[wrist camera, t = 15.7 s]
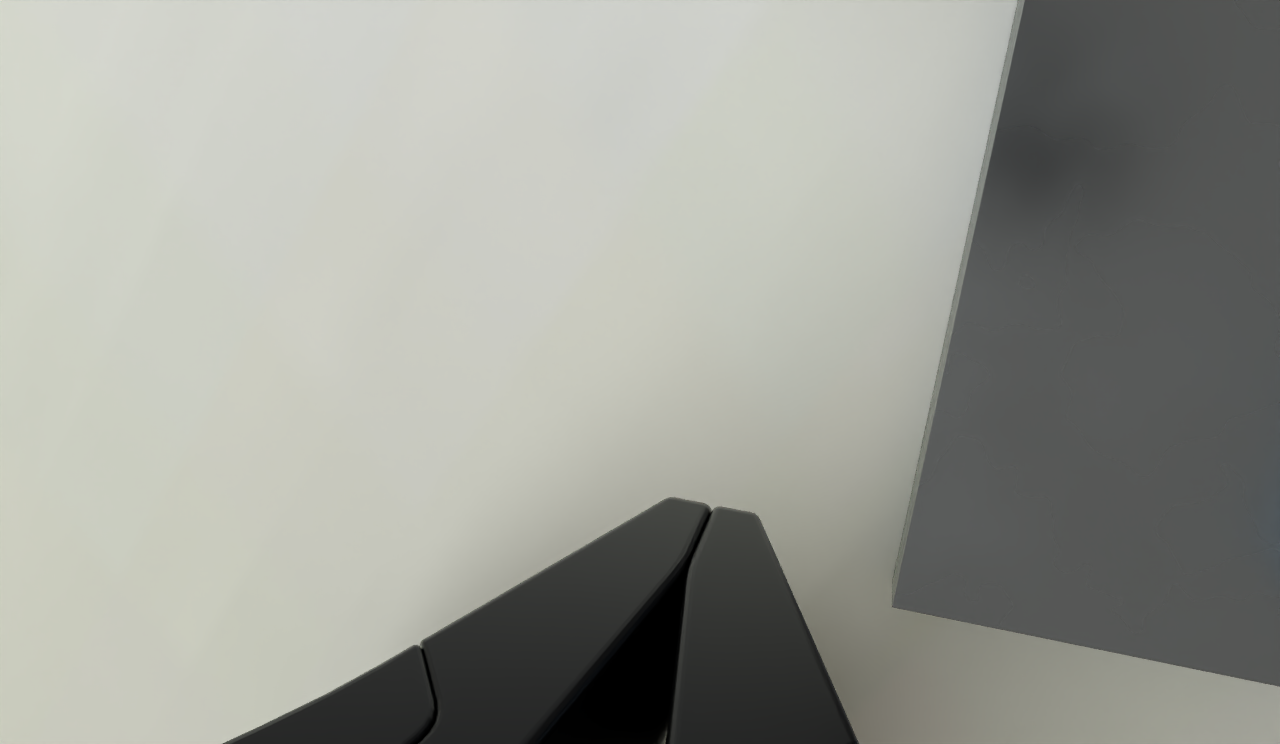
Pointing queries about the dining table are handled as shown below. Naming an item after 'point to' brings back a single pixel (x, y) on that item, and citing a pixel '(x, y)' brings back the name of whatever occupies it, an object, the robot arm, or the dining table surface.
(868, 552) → the dining table surface
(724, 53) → the dining table surface
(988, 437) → the vise bed
